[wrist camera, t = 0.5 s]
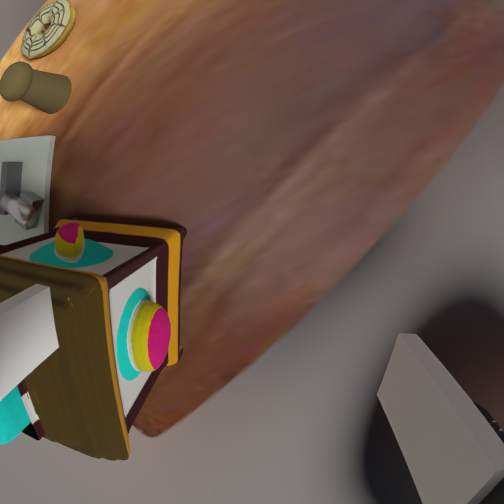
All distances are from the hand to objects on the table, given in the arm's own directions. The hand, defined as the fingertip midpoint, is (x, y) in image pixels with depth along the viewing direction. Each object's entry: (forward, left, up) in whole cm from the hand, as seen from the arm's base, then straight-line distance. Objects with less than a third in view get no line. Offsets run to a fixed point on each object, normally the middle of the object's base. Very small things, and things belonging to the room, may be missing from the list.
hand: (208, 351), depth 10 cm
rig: (-2, -39, -26) cm, 47 cm away
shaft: (0, -32, -25) cm, 41 cm away
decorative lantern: (+9, -16, -27) cm, 32 cm away
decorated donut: (-29, -36, -27) cm, 53 cm away
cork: (-17, -31, -27) cm, 44 cm away
